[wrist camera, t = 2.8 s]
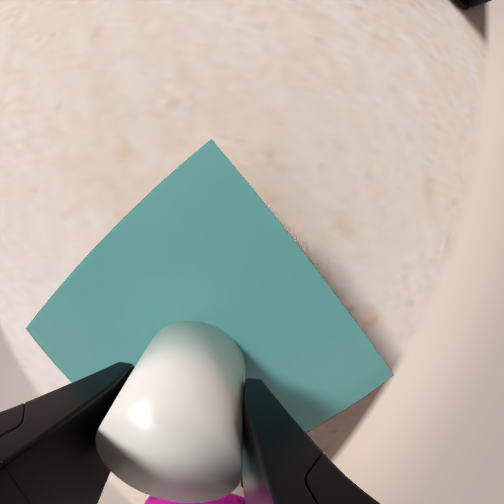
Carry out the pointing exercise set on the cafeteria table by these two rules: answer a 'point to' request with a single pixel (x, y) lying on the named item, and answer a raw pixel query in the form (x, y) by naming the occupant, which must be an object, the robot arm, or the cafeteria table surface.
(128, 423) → the lid
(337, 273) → the cafeteria table surface
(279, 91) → the cafeteria table surface
